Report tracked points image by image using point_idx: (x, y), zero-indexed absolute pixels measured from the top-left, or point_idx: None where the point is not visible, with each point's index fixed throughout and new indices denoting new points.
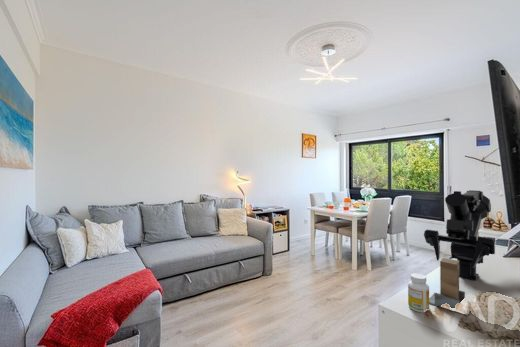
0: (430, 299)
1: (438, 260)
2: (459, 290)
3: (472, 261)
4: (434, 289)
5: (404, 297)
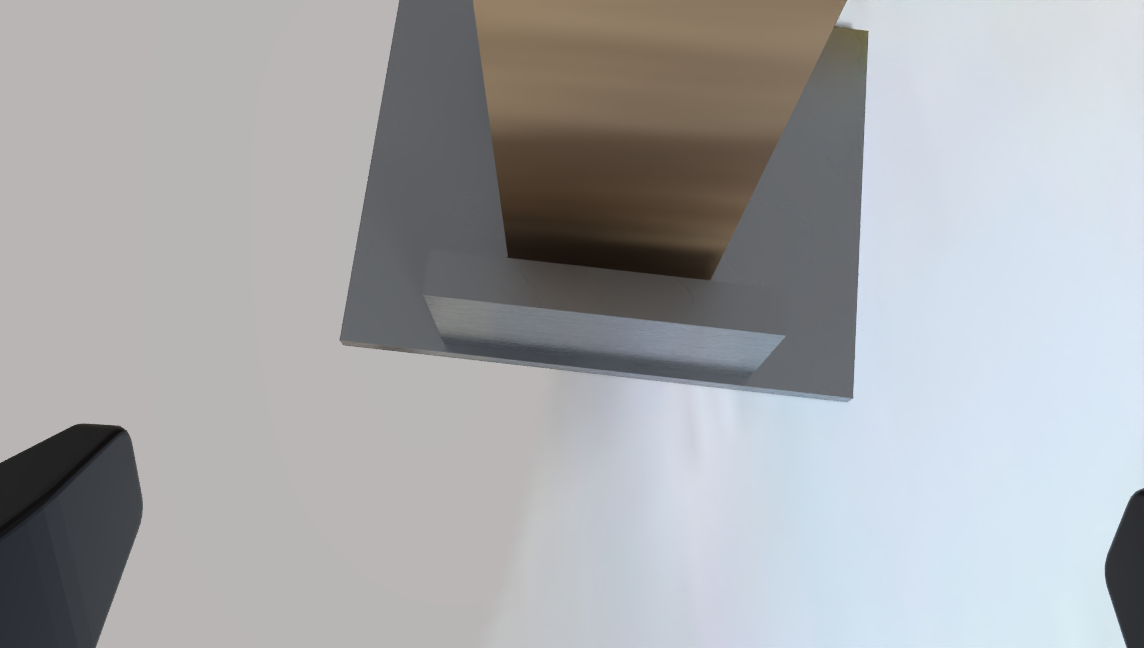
0: (845, 123)
1: (1107, 565)
2: (502, 302)
3: (33, 498)
4: (886, 597)
5: (1132, 13)
